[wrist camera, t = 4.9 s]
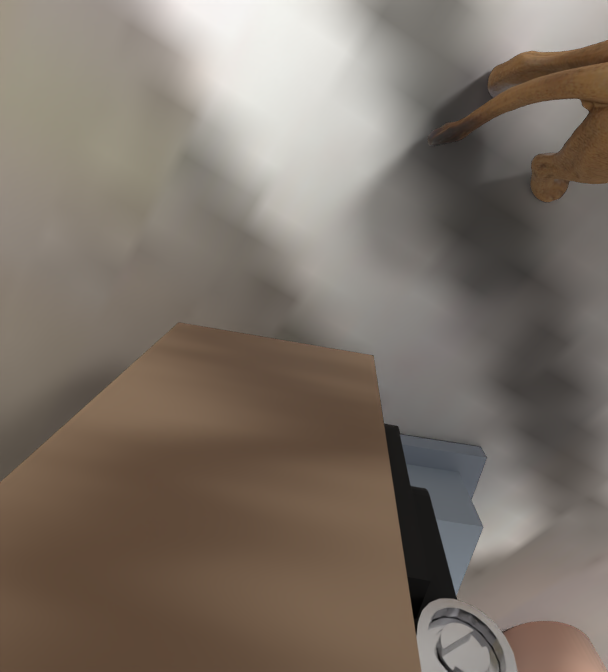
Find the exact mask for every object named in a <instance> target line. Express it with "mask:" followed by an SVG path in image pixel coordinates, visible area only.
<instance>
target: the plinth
mask: <svg viewBox="0 0 608 672" xmlns="http://www.w3.org/2000/svg"><path fill="white" fill-rule="evenodd" d="M400 437H401V442H402V447H403V451H404V456H405V461H406V466H407V471H408V475H409V480H410V485H411V486H415V487H420V488H426V489H427V490H428V492H429V495H430V498H431V502H432V506H433V509H434V513H435V517H436V521H437V525H438V529H439V532H440V536H441V540H442V544H443V548H444V551H445V555H446V559H447V563H448V567H449V571H450V574H451V578H452V582H453V586H454V590H455V594H456V595H457V593H458V590H459V588H460V585H461V582H462V580H463V577H464V575H465V572H466V570H467V567H468V565H469V562H470V560H471V557H472V555H473V552H474V549H475V547H476V544H477V542H478V539H479V537H480V534H481V532H482V529H483V525H482V523H481V521H480V518H479V516H478V514H477V512H476V509H475V507H474V505H473V503H472V501H471V499H472V497H473V494H474V491H475V489H476V486H477V483H478V480H479V478H480V475H481V472H482V470H483V467H484V464H485V461H486V459H487V457H486V455H485V454H484V452H483V450H482V448H481V447H478V446H471V445H465V444H459V443H452V442H446V441H439V440H433V439H427V438H420V437H414V436H407V435H401V434H400Z"/></svg>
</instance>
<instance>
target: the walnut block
mask: <svg viewBox="0 0 608 672" xmlns="http://www.w3.org/2000/svg"><path fill="white" fill-rule="evenodd" d="M0 672H422V671H421V665H420V658H419V652H418V645H417V638H416V632H415V625H414V619H413V612H412V606H411V599H410V592H409V586H408V579H407V573H406V566H405V560H404V553H403V546H402V540H401V533H400V527H399V520H398V513H397V507H396V500H395V494H394V487H393V481H392V474H391V467H390V461H389V454H388V448H387V441H386V434H385V428H384V421H383V415H382V408H381V402H380V395H379V388H378V382H377V375H376V369H375V362H374V355H368V354H362V353H356V352H350V351H344V350H338V349H332V348H327V347H321V346H315V345H309V344H303V343H297V342H291V341H285V340H279V339H273V338H267V337H262V336H256V335H250V334H244V333H238V332H232V331H226V330H220V329H214V328H208V327H203V326H197V325H191V324H185V323H177V324H176V325H175V326H174V327H173V328H172V329H171V330H170V331H169V332H167V333H166V334H165V335H164V336H163V337H162V338H161V339H160V340H159V341H157V342H156V343H155V344H154V345H153V346H152V347H151V348H150V349H148V350H147V351H146V352H145V353H144V354H143V355H142V356H141V357H140V358H138V359H137V360H136V361H135V362H134V363H133V364H132V365H131V366H129V367H128V368H127V369H126V370H125V371H124V372H123V373H122V374H121V375H119V376H118V377H117V378H116V379H115V380H114V381H113V382H112V383H110V384H109V385H108V386H107V387H106V388H105V389H104V390H103V391H102V392H100V393H99V394H98V395H97V396H96V397H95V398H94V399H93V400H92V401H90V402H89V403H88V404H87V405H86V406H85V407H84V408H83V409H81V410H80V411H79V412H78V413H77V414H76V415H75V416H74V417H73V418H71V419H70V420H69V421H68V422H67V423H66V424H65V425H64V426H62V427H61V428H60V429H59V430H58V431H57V432H56V433H55V434H54V435H52V436H51V437H50V438H49V439H48V440H47V441H46V442H45V443H43V444H42V445H41V446H40V447H39V448H38V449H37V450H36V451H35V452H33V453H32V454H31V455H30V456H29V457H28V458H27V459H26V460H25V461H23V462H22V463H21V464H20V465H19V466H18V467H17V468H16V469H14V470H13V471H12V472H11V473H10V474H9V475H8V476H7V477H6V478H4V479H3V480H2V481H1V482H0Z"/></svg>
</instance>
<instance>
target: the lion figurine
mask: <svg viewBox="0 0 608 672" xmlns="http://www.w3.org/2000/svg"><path fill="white" fill-rule="evenodd" d="M488 91H489V94H490V95H491V96H492V97H494V98H493V99H491V100H490V101H488V102H487V103H485V104H484V105H482V106H481V107H479V108H478V109H476V110H475V111H473V112H472V113H471V114H470V115H468V116H467V117H465V118H463V119H461V120H459V121H456V122H449V123H446V124H445V125H443V126H442V127H440V128H437V129H435V130H434V131H432V132H431V133H430V135H429V136H428V144H429V145H431V146H435V145H440V144H446V143H450V142H456V141H459V140H462V139H463V138H464V137H466V136H467V135H468V134H470V133H471V132H472V131H474V130H475V129H477V128H478V127H480V126H481V125H483V124H485V123H486V122H488V121H490V120H491V119H493V118H495V117H497V116H499V115H501V114H503V113H506V112H509V111H512V110H514V109H517V108H519V107H523V106H526V105H529V104H533V103H537V102H542V101H549V100H558V99H580V100H581V103H582V106H583V107H584V108H586V109H587V110H588V111H589V114H588V115H587V117H586V118H585V120H584V121H583V122H582V123H581V124H580V125H579V127H578V128H577V129H576V130H575V131H574V133H573V134H572V136H571V137H570V138H569V139H568V140H567V142H566V143H565V144H564V146H563V148H562V149H561V150H560V151H559V152H558V153H544V154H538V155H537V156H535V157H534V159H533V160H532V163H531V169H532V177H531V184H530V186H531V190H532V192H533V194H534V195H535V196H536V198H537V199H539V200H541V201H543V202H551V201H554V200H557V199H559V198H561V196H562V195H563V194H564V193H565V191H566V190H567V188H568V184H569V181H575V182H580V183H588V184H603V183H608V40H607V41H604V42H600V43H597V44H594V45H590V46H587V47H584V48H581V49H575V50H570V51H562V52H536V51H529V52H524V53H521V54H519V55H517V56H515V57H513V58H512V59H510V60H509V61H507V62H505V63H503V64H500V65H498V66H496V67H495V68H494V69H493V70H492V72H491V74H490V76H489V79H488Z"/></svg>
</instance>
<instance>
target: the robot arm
mask: <svg viewBox="0 0 608 672" xmlns="http://www.w3.org/2000/svg"><path fill="white" fill-rule="evenodd" d="M384 428H385V434H386V441H387V448H388V454H389V461H390V467H391V474H392V481H393V487H394V494H395V500H396V507H397V513H398V520H399V527H400V533H401V540H402V546H403V553H404V560H405V566H406V573H407V579H408V586H409V592H410V599H411V606H412V612H413V619H414V625H415V632H416V638H417V645H418V652H419V658H420V665H421V671H422V672H517V666H516V661H515V657H514V653H513V651H512V649H511V647H510V645H509V643H508V641H507V639H506V637H505V635H504V634H503V633H502V632H501V630H500V629H499V628H498V627H497V625H496V624H495V623H494V622H493V621H492V620H491V619H490V618H489V617H487V616H486V615H485V614H484V613H483V612H482V611H480V610H479V609H477V608H475V607H473V606H472V605H470V604H468V603H466V602H463V601H459V600H457V597H456V594H455V590H454V586H453V582H452V578H451V574H450V571H449V567H448V563H447V559H446V555H445V551H444V548H443V544H442V540H441V536H440V532H439V529H438V525H437V521H436V517H435V513H434V509H433V506H432V502H431V498H430V495H429V492H428V490H427V489H426V488H420V487H415V486H411V485H410V480H409V475H408V471H407V466H406V461H405V456H404V451H403V447H402V442H401V437H400V432H399V428H398V426H394V425H388V424H384Z"/></svg>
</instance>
